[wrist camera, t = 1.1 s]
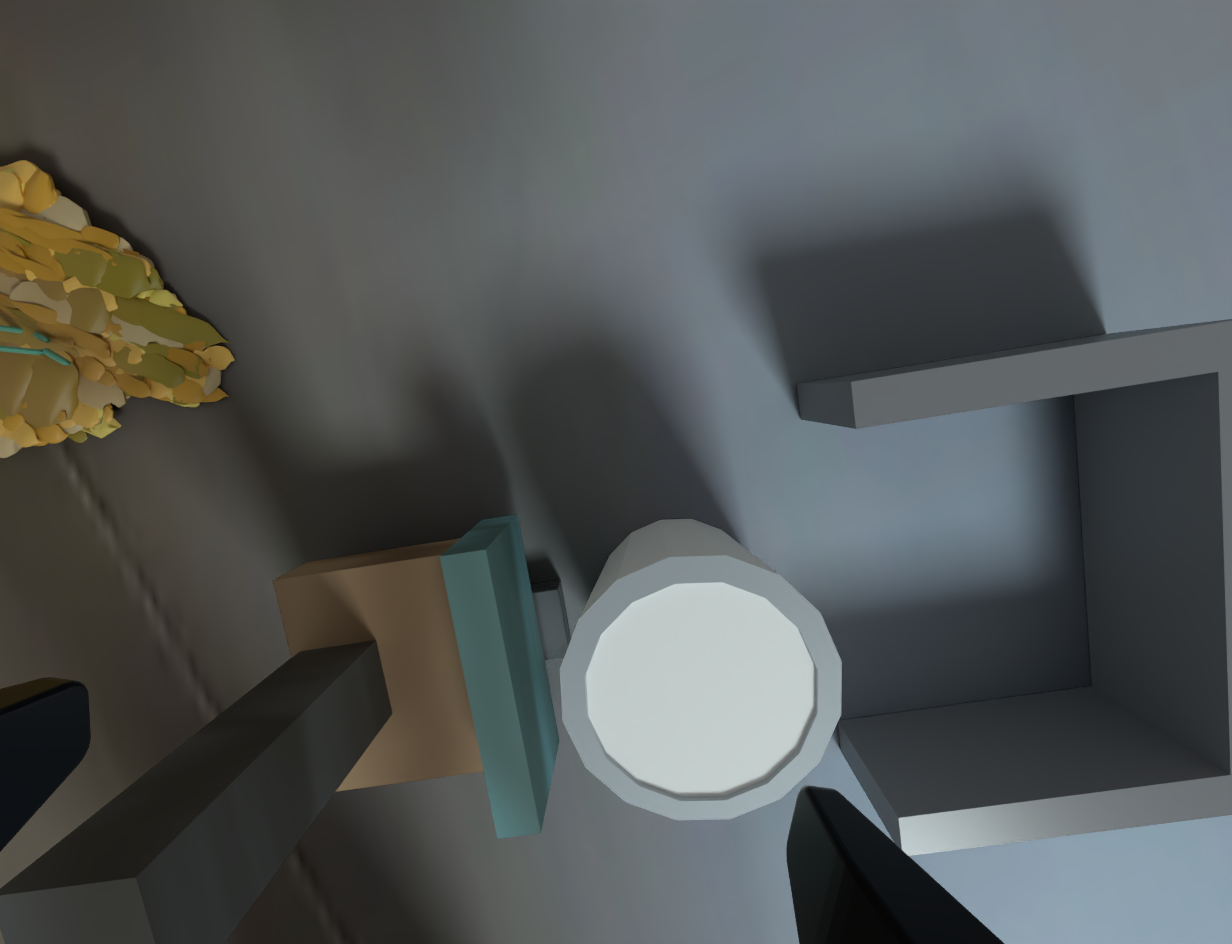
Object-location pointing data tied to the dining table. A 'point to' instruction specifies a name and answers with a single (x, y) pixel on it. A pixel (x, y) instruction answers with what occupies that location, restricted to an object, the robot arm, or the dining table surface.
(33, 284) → the gold and teal figure
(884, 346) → the dining table surface
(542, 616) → the rail
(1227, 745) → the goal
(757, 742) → the white cylinder
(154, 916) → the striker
